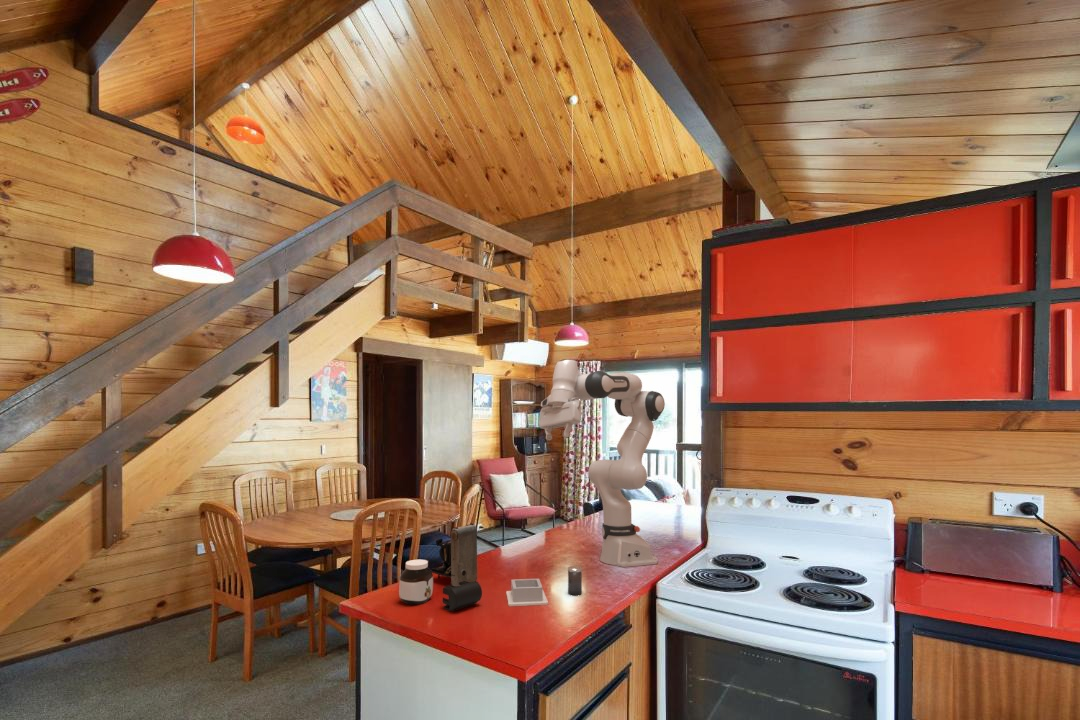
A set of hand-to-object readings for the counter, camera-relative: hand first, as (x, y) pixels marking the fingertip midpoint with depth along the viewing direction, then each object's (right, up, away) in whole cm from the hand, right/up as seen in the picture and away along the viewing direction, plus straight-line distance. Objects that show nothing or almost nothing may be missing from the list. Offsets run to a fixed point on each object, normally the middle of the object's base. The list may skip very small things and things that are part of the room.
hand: (556, 438), depth 190 cm
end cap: (-29, -47, -28) cm, 62 cm away
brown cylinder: (+5, -48, -15) cm, 51 cm away
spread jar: (-45, -48, -21) cm, 69 cm away
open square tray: (-10, -47, -20) cm, 52 cm away
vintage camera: (-36, -49, -4) cm, 61 cm away
